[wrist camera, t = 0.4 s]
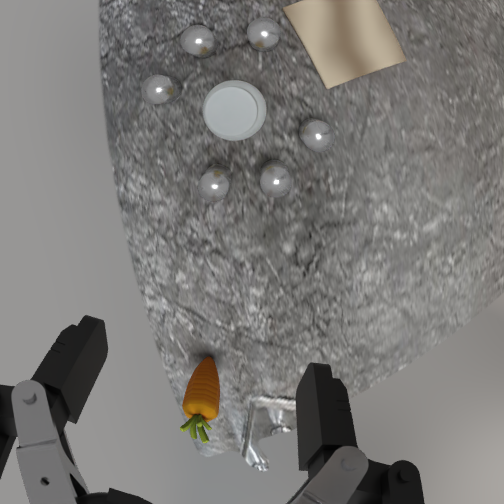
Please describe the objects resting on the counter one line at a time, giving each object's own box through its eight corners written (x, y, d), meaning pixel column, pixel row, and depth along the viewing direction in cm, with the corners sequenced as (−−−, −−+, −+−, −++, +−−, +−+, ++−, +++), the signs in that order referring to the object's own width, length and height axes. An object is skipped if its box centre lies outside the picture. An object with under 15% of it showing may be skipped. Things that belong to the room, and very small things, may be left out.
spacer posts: (259, 5, 25) (258, -7, 21) (339, 158, 32) (348, 166, 29) (140, 69, 28) (125, 67, 25) (223, 212, 36) (218, 226, 32)
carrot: (187, 351, 47) (167, 432, 34) (214, 342, 46) (200, 428, 32) (204, 370, 49) (191, 449, 36) (231, 362, 48) (222, 445, 34)
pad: (363, -16, 23) (365, -18, 22) (404, 61, 27) (406, 60, 26) (282, 9, 25) (282, 8, 24) (326, 89, 29) (327, 89, 28)
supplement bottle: (273, 121, 31) (278, 130, 22) (226, 140, 32) (213, 157, 24) (253, 75, 29) (249, 67, 20) (205, 95, 30) (184, 96, 21)
